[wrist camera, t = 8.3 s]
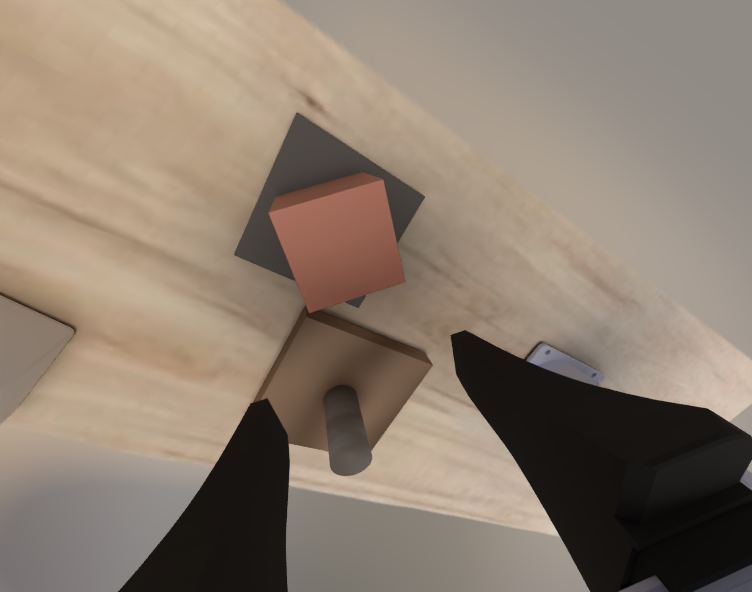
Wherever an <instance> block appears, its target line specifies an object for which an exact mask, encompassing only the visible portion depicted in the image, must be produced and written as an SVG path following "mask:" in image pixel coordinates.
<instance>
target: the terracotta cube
mask: <svg viewBox="0 0 752 592" xmlns="http://www.w3.org/2000/svg"><path fill="white" fill-rule="evenodd" d="M269 215H270V218H271V220H272V223H273V225H274V228H275V230H276V233H277V235H278V238H279V240H280V243H281V245H282V248H283V250H284V252H285V255H286V257H287V260H288V262H289V265H290V267H291V270H292V272H293V275H294V277H295V280H296V282H297V285H298V287H299V290H300V292H301V295H302V297H303V299H304V302H305V304H306V307H307V309H308V312H309V313H311V312H314V311H318V310H321V309H324V308H327V307H330V306H333V305H336V304H339V303H342V302H345V301H348V300H351V299H354V298H357V297H360V296H363V295H367V294H370V293H373V292H376V291H379V290H382V289H385V288H388V287H391V286H394V285H397V284H400V283H403V282H405V278H404V274H403V269H402V264H401V260H400V255H399V251H398V246H397V241H396V237H395V232H394V227H393V223H392V218H391V213H390V209H389V204H388V199H387V195H386V190H385V186H384V181H383V179H381V178H378V177H375V176H372V175H370V174H367V173H364V172H360V173H356V174H353V175H349V176H346V177H342V178H339V179H335V180H332V181H328V182H325V183H321V184H318V185H314V186H311V187H307V188H304V189H300V190H297V191H293V192H290V193H286V194H283V195H279V196H276V197H275V199H274V201H273V203H272V206H271V208H270V210H269Z"/></svg>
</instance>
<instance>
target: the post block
mask: <svg viewBox="0 0 752 592" xmlns="http://www.w3.org/2000/svg"><path fill="white" fill-rule="evenodd" d="M432 366H433V365H432V363H431V361H430V360H429V358H428V357H427V355H426V354H425V353H423V352H421V351H418V350H416V349H413V348H411V347H408V346H406V345H403V344H401V343H398V342H396V341H393V340H391V339H388V338H386V337H383V336H381V335H378V334H376V333H373V332H371V331H368V330H366V329H363V328H361V327H358V326H355V325H353V324H350V323H348V322H345V321H343V320H340V319H338V318H335V317H333V316H330V315H328V314H325V313H323V312H320V311H314V312H311V313H309V312H308V309H307V307H306V306H305V308H304V310H303V312H302V313H301V315H300V317H299V319H298V321H297V323H296V325H295V326H294V328H293V330H292V332H291V334H290V336H289V337H288V339H287V341H286V343H285V345H284V347H283V349H282V350H281V352H280V354H279V356H278V358H277V360H276V361H275V363H274V365H273V367H272V369H271V371H270V373H269V374H268V376H267V378H266V380H265V382H264V384H263V386H262V387H261V389H260V391H259V393H258V395H257V397H256V398H255V400H254V402H257V401H260V400H263V399H266V398H268V400H269V402H270V404H271V405H272V407H273V409H274V411H275V413H276V414H277V416H278V418H279V420H280V422H281V423H282V425H283V427H284V429H285V430H286V432H287V434H288V443H289V444H294V445H299V446H304V447H309V448H314V449H319V450H324V451H329V459H330V467H331V470H332V471H333V472H334V473H336V474H338V475H341V476H350V475H355V474H357V473H360V472H362V471H363V470H365V469H366V468H367V467H368V466H369V465H370V463H371V461H372V454H371V450H372V449H373V448H374V446H375V445H376V444H377V442H378V441H379V439H380V438H381V437H382V435H383V434H384V432H385V431H386V430H387V428H388V427H389V425H390V424H391V423H392V421H393V420H394V419H395V417H396V416H397V414H398V413H399V412H400V410H401V409H402V407H403V406H404V405H405V403H406V402H407V400H408V399H409V398H410V396H411V395H412V394H413V392H414V391H415V389H416V388H417V387H418V385H419V384H420V382H421V381H422V380H423V378H424V377H425V375H426V374H427V373H428V371H429V370H430V369H431V367H432ZM254 402H253V403H254Z"/></svg>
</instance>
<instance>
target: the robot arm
mask: <svg viewBox="0 0 752 592" xmlns="http://www.w3.org/2000/svg"><path fill="white" fill-rule="evenodd" d="M451 341H452V348H453V355H454V362H455V369H456V375H457V377H458V378H459V380H460V382H461V384H462V386H463V387H464V389H465V391H466V392H467V394H468V396H469V397H470V399H471V400H472V402H473V403H474V404H475V406H476V407H477V408H478V410H479V411H480V412H481V414H482V415H483V416H484V418H485V419H486V420H487V422H488V423H489V424H490V426H491V427H492V428H493V430H494V431H495V432H496V434H497V435H498V436H499V438H500V439H501V440H502V442H503V443H504V444H505V446H506V447H507V449H508V450H509V452H510V453H511V455H512V456H513V458H514V459H515V461H516V462H517V464H518V466H519V467H520V469H521V471H522V472H523V474H524V475H525V477H526V479H527V480H528V482H529V484H530V485H531V487H532V489H533V490H534V492H535V494H536V495H537V497H538V499H539V500H540V502H541V504H542V506H543V507H544V509H545V511H546V512H547V514H548V516H549V518H550V519H551V521H552V523H553V525H554V526H555V528H556V530H557V532H558V534H559V535H560V537H561V539H562V541H563V542H564V544H565V546H566V548H567V549H568V551H569V553H570V555H571V557H572V559H573V561H574V562H575V564H576V566H577V568H578V570H579V572H580V573H581V575H582V577H583V579H584V581H585V583H586V584H587V586H588V588H589V590H590V592H752V473H751V472H750V471H748V470H747V467H748V466H749V464H750V462H751V460H752V437H751V436H750V435H749V434H747V433H746V432H744V431H742V430H741V429H739V428H738V427H736V426H735V425H733V424H731V423H730V422H728V421H727V420H725V419H724V418H722V417H720V416H719V415H717V414H716V413H714V412H712V411H711V410H709V409H707V408H701V407H695V406H689V405H683V404H677V403H671V402H665V401H659V400H654V399H649V398H645V397H640V396H635V395H631V394H626V393H622V392H618V391H614V390H610V389H606V388H603V387H601V386H600V385H599V383H600V382H601V380H602V379H603V378H604V375H603V374H602V373H601V372H599V371H597V370H595V369H593V368H591V367H590V366H588V365H586V364H584V363H582V362H580V361H578V360H576V359H574V358H572V357H570V356H568V355H566V354H564V353H562V352H560V351H559V350H557V349H555V348H553V347H551V346H549V345H547V344H545V343H542V344H540V345H538V346H537V348H536V349H535V350H534V351H533V353H532V354H531V355H530V356H529V357H528V359H527V360H523V359H521V358H519V357H517V356H515V355H512V354H510V353H508V352H506V351H504V350H502V349H500V348H498V347H496V346H494V345H492V344H490V343H489V342H487V341H485V340H483V339H481V338H479V337H477V336H475V335H474V334H472V333H470V332H468V331H466V330H464V331H461V332H458V333H455V334H453V335H451ZM289 467H290V459H289V444H288V434H287V432H286V430H285V429H284V427H283V425H282V423H281V422H280V420H279V418H278V416H277V414H276V413H275V411H274V409H273V407H272V405H271V404H270V402H269V400H268V398H266V399H263V400H260V401H257V402H254V403H251V404H250V406H249V408H248V409H247V411H246V413H245V415H244V416H243V418H242V420H241V422H240V423H239V425H238V427H237V429H236V431H235V432H234V434H233V436H232V438H231V439H230V441H229V443H228V445H227V446H226V448H225V450H224V451H223V453H222V455H221V456H220V458H219V460H218V461H217V463H216V465H215V466H214V468H213V469H212V471H211V472H210V474H209V476H208V477H207V479H206V481H205V482H204V483H203V485H202V487H201V488H200V490H199V491H198V492H197V494H196V495H195V497H194V498H193V500H192V501H191V503H190V504H189V505H188V507H187V508H186V509H185V511H184V512H183V513H182V515H181V516H180V517H179V519H178V520H177V522H176V523H175V524H174V526H173V527H172V528H171V529H170V531H169V532H168V533H167V535H166V536H165V537H164V538H163V539H162V541H161V542H160V543H159V544H158V545H157V547H156V548H155V549H154V550H153V552H152V553H151V554H150V555H149V556H148V558H147V559H146V560H145V561H144V563H143V564H142V565H141V566H140V567H139V569H138V570H137V571H136V572H135V573H134V574H133V576H132V577H131V578H130V579H129V580H128V581H127V582H126V584H125V585H124V586H123V587H122V588H121V589H120V590H119V591H118V592H288V590H287V568H286V567H287V566H286V522H287V505H288V487H289Z"/></svg>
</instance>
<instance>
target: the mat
mask: <svg viewBox="0 0 752 592" xmlns="http://www.w3.org/2000/svg"><path fill="white" fill-rule="evenodd" d="M360 172H364V173H367V174H370V175H372V176H375V177H378V178H381V179H383V181H384V186H385V190H386V195H387V199H388V204H389V209H390V213H391V218H392V223H393V227H394V232H395V237H396V241H397V243H398V241H399V240H400V238H401V236H402V234H403V233H404V231H405V229H406V228H407V226H408V224H409V223H410V221H411V219H412V218H413V216H414V214H415V213H416V211H417V209H418V208H419V206H420V204H421V203H422V201H423V199H424V198H425V196H423V195H422V194H420V193H419V192H417V191H416V190H414V189H413V188H411V187H410V186H408V185H407V184H405V183H403V182H402V181H400V180H399V179H397V178H396V177H394V176H393V175H391V174H390V173H388V172H387V171H385V170H384V169H382V168H381V167H379V166H378V165H376V164H375V163H373V162H372V161H370V160H369V159H367V158H365V157H364V156H362V155H361V154H359V153H358V152H356V151H355V150H353V149H352V148H350V147H349V146H347V145H346V144H344V143H343V142H341V141H340V140H338V139H337V138H335V137H334V136H332V135H331V134H329V133H328V132H326V131H324V130H323V129H321V128H320V127H318V126H317V125H315V124H314V123H312V122H311V121H309V120H308V119H306V118H305V117H303V116H302V115H300V114H299V113H296V116H295V118H294V120H293V122H292V125H291V127H290V129H289V131H288V134H287V136H286V138H285V140H284V143H283V145H282V147H281V149H280V152H279V154H278V156H277V159H276V161H275V163H274V165H273V168H272V170H271V172H270V174H269V177H268V179H267V181H266V183H265V186H264V188H263V190H262V192H261V195H260V197H259V199H258V202H257V204H256V206H255V208H254V211H253V213H252V215H251V217H250V220H249V222H248V224H247V226H246V229H245V231H244V233H243V235H242V238H241V240H240V242H239V245H238V247H237V249H236V251H235V254H234V255H235V256H237V257H240V258H242V259H245V260H247V261H249V262H252V263H254V264H256V265H259V266H261V267H263V268H266V269H268V270H270V271H273V272H275V273H277V274H280V275H282V276H284V277H287V278H289V279H292V280H294V281H296V280H295V277H294V275H293V272H292V270H291V267H290V265H289V262H288V260H287V257H286V255H285V252H284V250H283V248H282V245H281V243H280V240H279V238H278V235H277V233H276V230H275V228H274V225H273V223H272V220H271V218H270V215H269V210H270V208H271V206H272V203H273V201H274V199H275V197H276V196H279V195H283V194H286V193H290V192H293V191H297V190H300V189H304V188H307V187H311V186H314V185H318V184H321V183H325V182H328V181H332V180H335V179H339V178H342V177H346V176H349V175H353V174H356V173H360ZM365 296H366V295H363V296H360V297H357V298H354V299H351V300H348V301H345V302H346V303H348V304H350V305H353V306H355V307H357V308H359V306H360V305H361V303H362V301H363V300H364V298H365Z"/></svg>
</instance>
